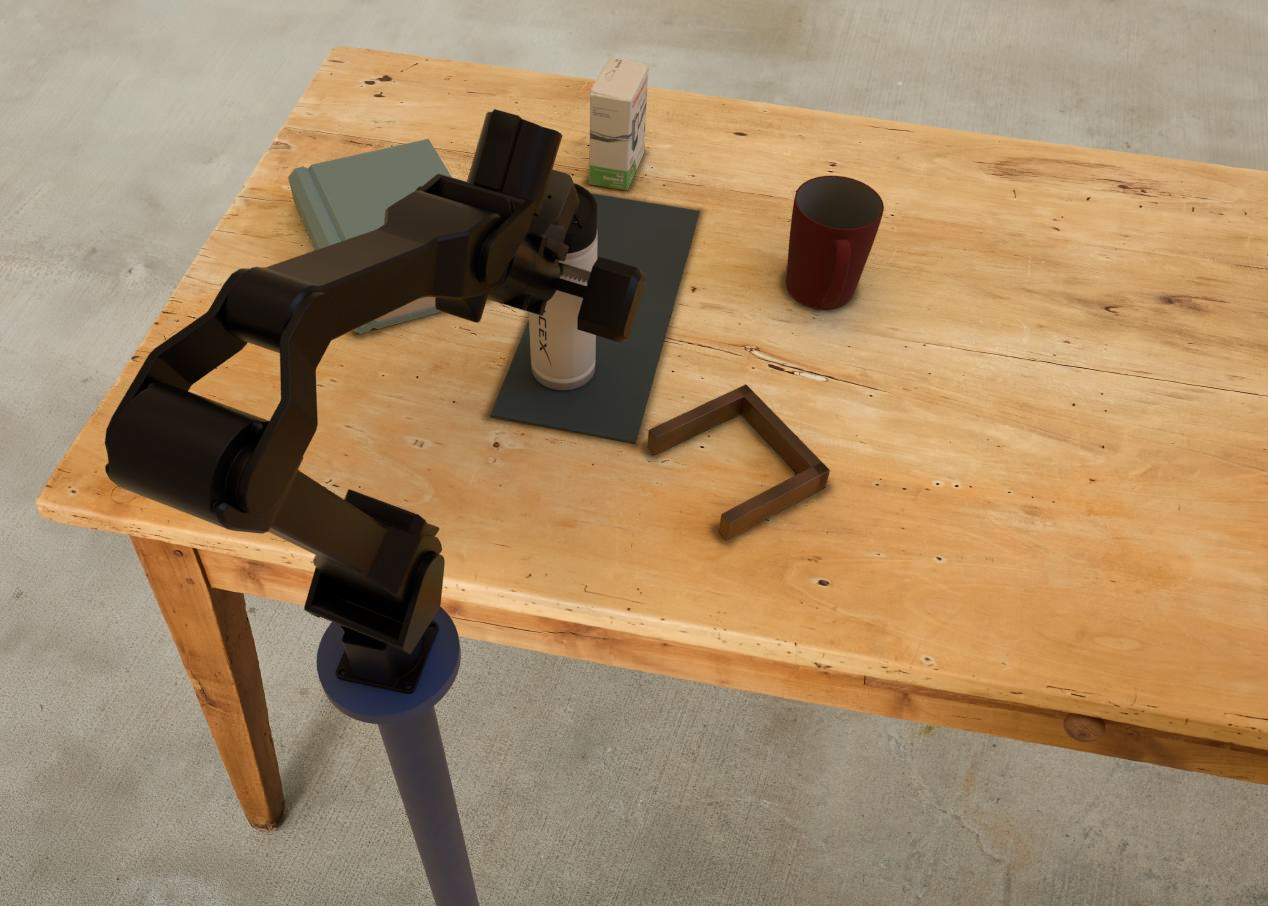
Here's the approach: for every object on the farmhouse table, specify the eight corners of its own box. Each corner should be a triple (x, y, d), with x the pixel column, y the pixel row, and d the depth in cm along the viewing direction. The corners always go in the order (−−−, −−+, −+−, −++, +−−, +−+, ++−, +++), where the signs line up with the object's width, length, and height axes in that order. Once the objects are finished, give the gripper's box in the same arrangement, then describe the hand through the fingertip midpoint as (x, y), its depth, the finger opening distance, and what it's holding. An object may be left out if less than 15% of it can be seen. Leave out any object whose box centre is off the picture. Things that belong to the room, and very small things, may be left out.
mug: (868, 337, 108) (893, 252, 100) (783, 333, 108) (800, 248, 100) (856, 262, 116) (878, 177, 108) (776, 258, 116) (792, 173, 108)
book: (502, 294, 110) (499, 257, 107) (351, 336, 106) (342, 298, 102) (433, 176, 123) (428, 138, 120) (295, 208, 118) (286, 170, 115)
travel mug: (582, 338, 106) (583, 169, 91) (604, 383, 102) (608, 214, 87) (522, 352, 105) (513, 182, 89) (542, 398, 101) (535, 229, 86)
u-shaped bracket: (726, 540, 91) (729, 523, 89) (646, 447, 98) (648, 429, 96) (825, 487, 95) (830, 470, 94) (743, 401, 102) (746, 383, 100)
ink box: (627, 192, 123) (631, 101, 114) (586, 185, 123) (587, 93, 114) (645, 151, 128) (650, 61, 119) (606, 144, 129) (608, 54, 120)
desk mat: (635, 444, 98) (635, 441, 98) (490, 417, 99) (490, 415, 99) (699, 212, 121) (699, 210, 121) (580, 193, 122) (580, 191, 122)
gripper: (643, 192, 78) (683, 228, 93) (420, 131, 82) (493, 175, 97) (600, 337, 79) (646, 350, 94) (381, 270, 83) (459, 292, 98)
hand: (560, 288), depth 96 cm, fingers open, 9 cm apart
